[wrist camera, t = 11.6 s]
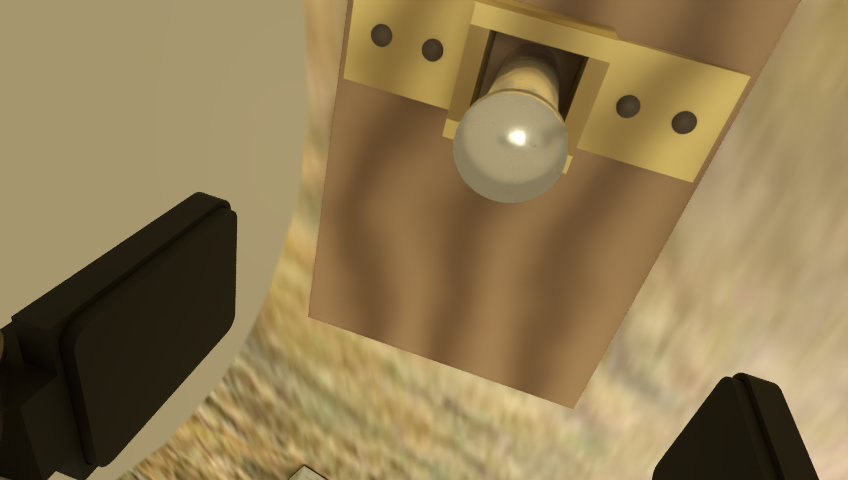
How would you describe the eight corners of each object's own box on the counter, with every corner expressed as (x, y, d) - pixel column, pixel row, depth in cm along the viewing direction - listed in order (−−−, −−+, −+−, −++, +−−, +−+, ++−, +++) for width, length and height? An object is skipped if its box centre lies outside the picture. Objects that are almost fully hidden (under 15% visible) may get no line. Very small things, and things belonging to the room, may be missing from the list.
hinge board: (796, -11, 26) (840, 1, 21) (573, 397, 42) (572, 452, 38) (371, -121, 28) (333, -130, 24) (314, 307, 44) (285, 349, 40)
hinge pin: (578, 46, 28) (585, 111, 18) (553, 117, 30) (546, 215, 20) (505, 27, 29) (468, 80, 18) (486, 99, 31) (442, 185, 20)
